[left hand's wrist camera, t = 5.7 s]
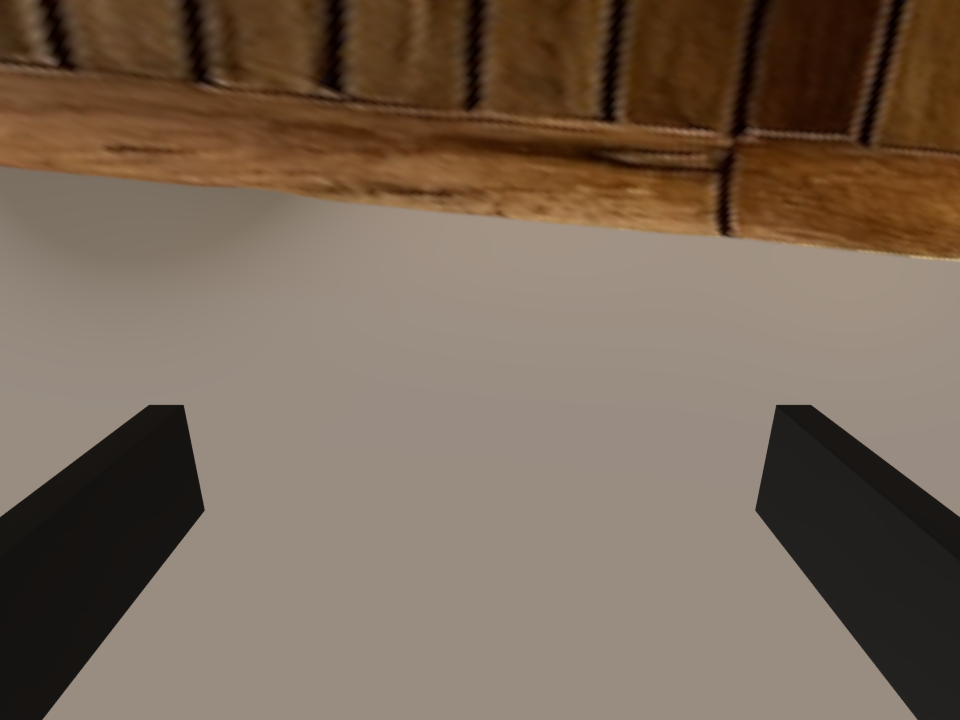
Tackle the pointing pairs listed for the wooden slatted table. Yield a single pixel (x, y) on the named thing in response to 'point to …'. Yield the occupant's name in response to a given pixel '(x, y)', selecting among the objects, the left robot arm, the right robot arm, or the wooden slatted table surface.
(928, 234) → the wooden slatted table surface
